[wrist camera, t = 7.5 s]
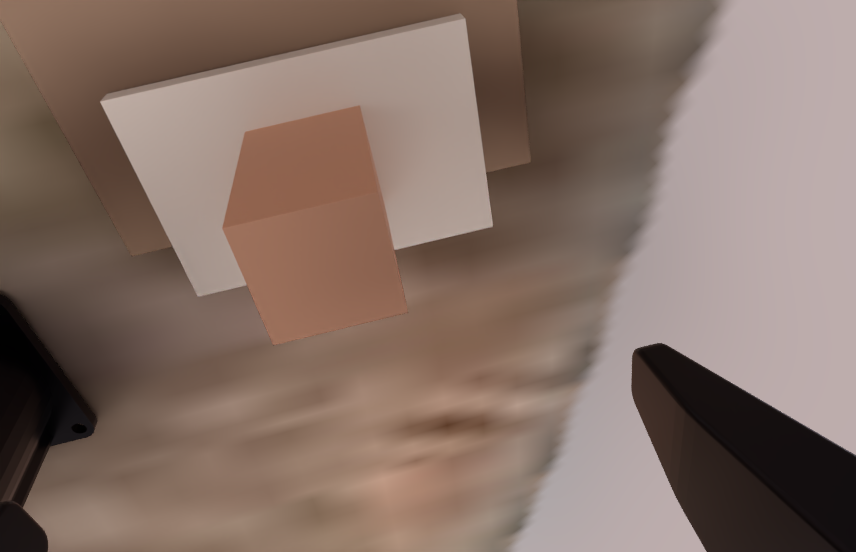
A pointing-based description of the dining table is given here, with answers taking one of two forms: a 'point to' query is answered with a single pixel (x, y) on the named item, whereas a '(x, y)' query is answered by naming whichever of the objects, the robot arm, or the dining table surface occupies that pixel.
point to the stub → (313, 170)
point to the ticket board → (224, 46)
